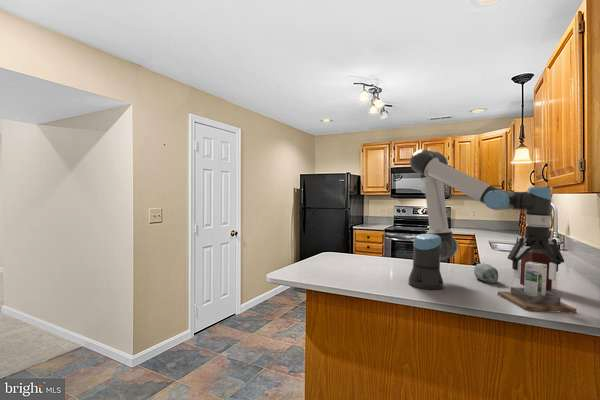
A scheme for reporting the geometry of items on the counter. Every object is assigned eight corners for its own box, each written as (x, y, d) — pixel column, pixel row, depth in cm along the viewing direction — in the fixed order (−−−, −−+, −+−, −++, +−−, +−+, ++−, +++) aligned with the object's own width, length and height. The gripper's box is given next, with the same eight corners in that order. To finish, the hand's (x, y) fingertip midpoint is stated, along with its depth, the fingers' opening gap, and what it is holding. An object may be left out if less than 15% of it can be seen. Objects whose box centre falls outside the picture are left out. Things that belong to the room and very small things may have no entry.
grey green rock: (506, 278, 147) (494, 259, 150) (487, 286, 148) (475, 267, 151) (495, 278, 160) (484, 260, 163) (477, 285, 161) (467, 267, 164)
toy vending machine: (557, 290, 141) (560, 229, 141) (530, 289, 143) (533, 228, 142) (544, 285, 150) (547, 227, 150) (519, 283, 152) (522, 226, 151)
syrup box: (522, 298, 124) (524, 262, 124) (529, 296, 128) (530, 261, 127) (540, 302, 120) (541, 265, 119) (545, 300, 123) (547, 263, 123)
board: (525, 310, 115) (526, 298, 115) (497, 294, 133) (498, 284, 133) (576, 312, 114) (576, 300, 114) (541, 296, 132) (541, 286, 132)
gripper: (510, 225, 120) (507, 279, 120) (578, 228, 119) (574, 283, 119) (499, 223, 127) (496, 274, 128) (562, 226, 126) (559, 277, 127)
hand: (534, 278), depth 124 cm, fingers open, 13 cm apart
